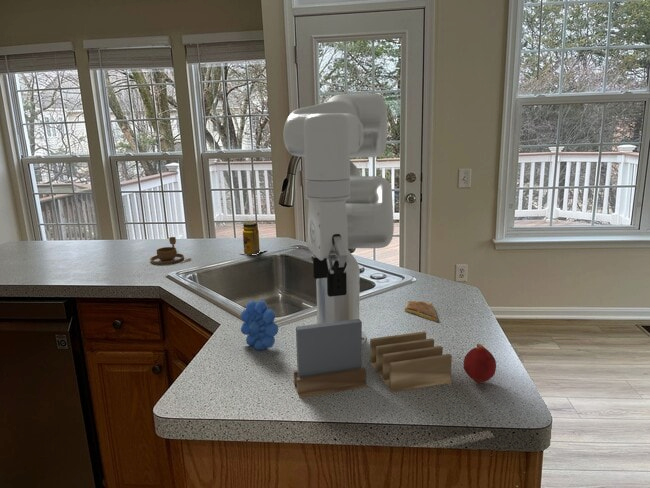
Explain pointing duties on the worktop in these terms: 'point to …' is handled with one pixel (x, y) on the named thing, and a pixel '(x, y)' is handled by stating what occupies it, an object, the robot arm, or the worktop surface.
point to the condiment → (250, 238)
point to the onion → (479, 364)
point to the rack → (410, 361)
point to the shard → (422, 309)
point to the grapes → (259, 325)
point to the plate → (329, 347)
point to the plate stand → (330, 382)
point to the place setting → (168, 254)
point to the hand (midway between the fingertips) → (329, 286)
